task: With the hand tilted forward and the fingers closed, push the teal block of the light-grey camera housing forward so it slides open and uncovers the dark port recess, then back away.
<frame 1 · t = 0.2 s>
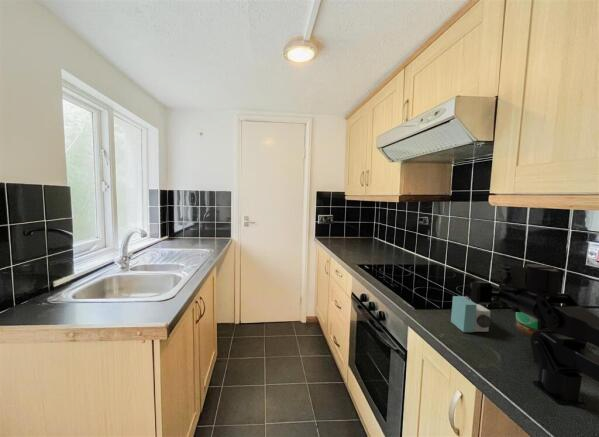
hand: (485, 284, 86), 16 cm above the worktop, tool horizontal, fingers open, 9 cm apart
camera housing: (468, 322, 95), on the worktop
food container: (528, 334, 88), on the worktop
teal block: (463, 313, 91), point 5 cm above the worktop, slide at 0.0 cm
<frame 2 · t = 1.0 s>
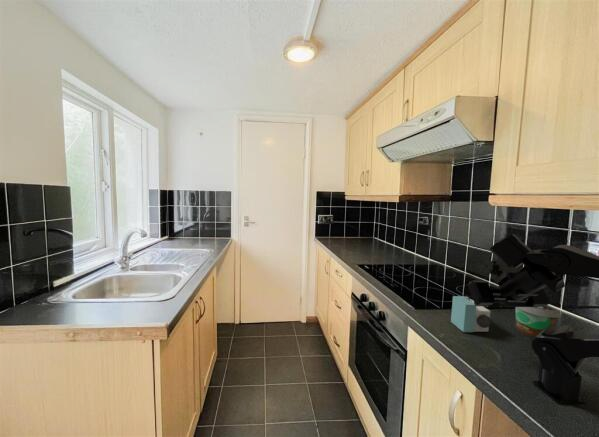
hand: (489, 304, 79), 13 cm above the worktop, tool tilted 45°, fingers open, 8 cm apart
nothing on the worktop moved.
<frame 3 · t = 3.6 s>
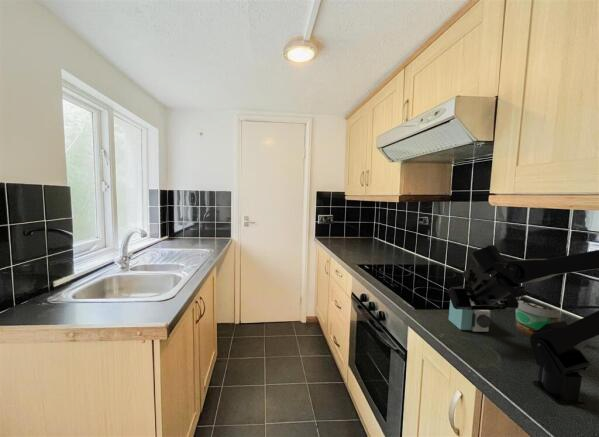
hand: (468, 308, 88), 8 cm above the worktop, tool tilted 45°, fingers closed, pressing on teal block
teal block: (460, 311, 92), point 5 cm above the worktop, slide at 1.4 cm, touching gripper
everything else where it was.
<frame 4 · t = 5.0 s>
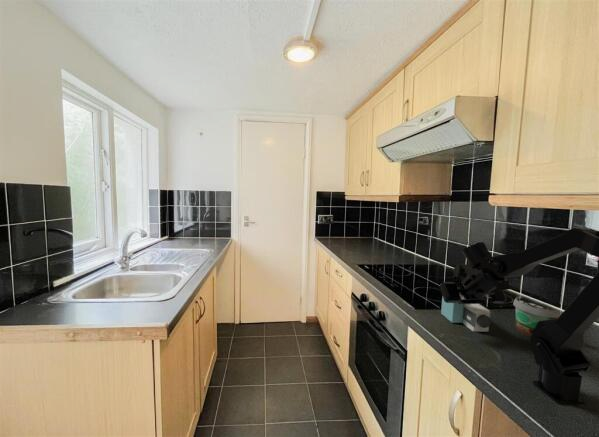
hand: (459, 302, 93), 8 cm above the worktop, tool tilted 45°, fingers closed, pressing on teal block
teal block: (452, 305, 97), point 5 cm above the worktop, slide at 6.3 cm, touching gripper
everything else where it was.
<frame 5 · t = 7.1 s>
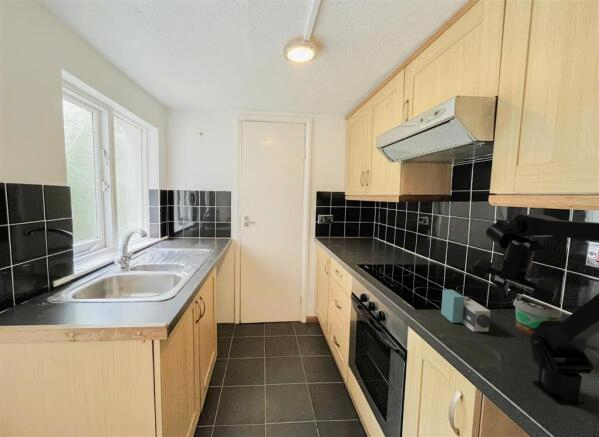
hand: (505, 302, 81), 13 cm above the worktop, tool tilted 20°, fingers closed
teal block: (452, 305, 97), point 5 cm above the worktop, slide at 6.3 cm
everything else where it was.
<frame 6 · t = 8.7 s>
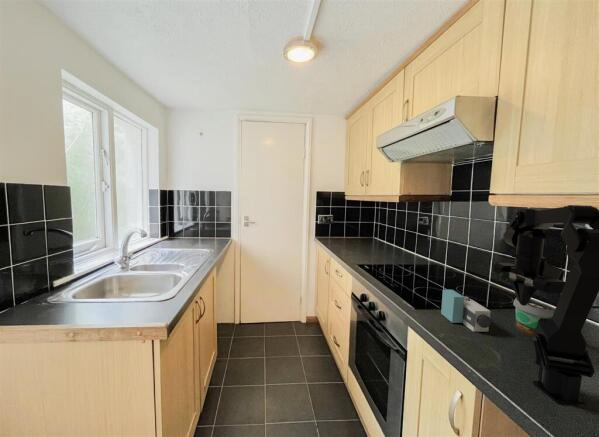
hand: (523, 305, 79), 13 cm above the worktop, tool pointing down, fingers closed
nothing on the worktop moved.
at the end: teal block slide at 6.3 cm; teal block touching nothing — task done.
